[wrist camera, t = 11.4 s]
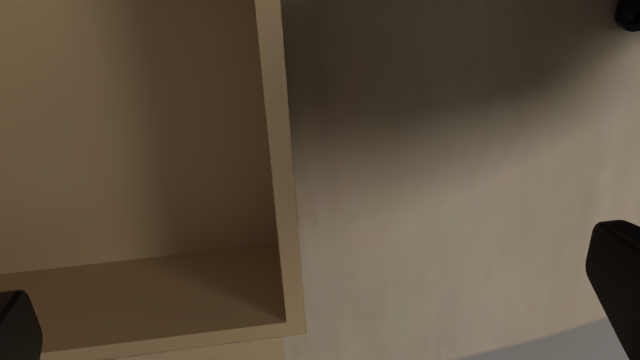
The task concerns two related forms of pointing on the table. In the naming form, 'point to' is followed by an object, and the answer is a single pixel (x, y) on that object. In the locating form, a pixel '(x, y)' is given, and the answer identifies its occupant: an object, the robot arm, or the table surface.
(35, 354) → the robot arm
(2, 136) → the carton
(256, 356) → the flap
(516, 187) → the table surface
